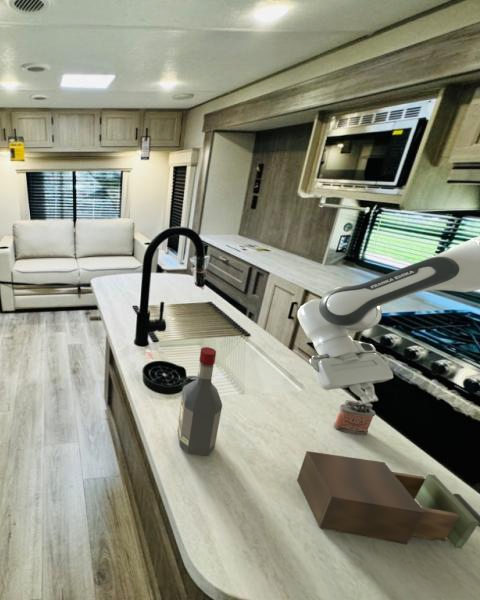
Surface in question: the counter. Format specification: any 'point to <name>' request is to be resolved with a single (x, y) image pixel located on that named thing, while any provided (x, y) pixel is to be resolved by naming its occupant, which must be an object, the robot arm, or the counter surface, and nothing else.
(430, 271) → the robot arm
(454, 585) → the counter surface
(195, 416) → the liquor
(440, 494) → the drawer
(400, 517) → the cabinet
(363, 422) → the small labelled tin can
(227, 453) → the counter surface
